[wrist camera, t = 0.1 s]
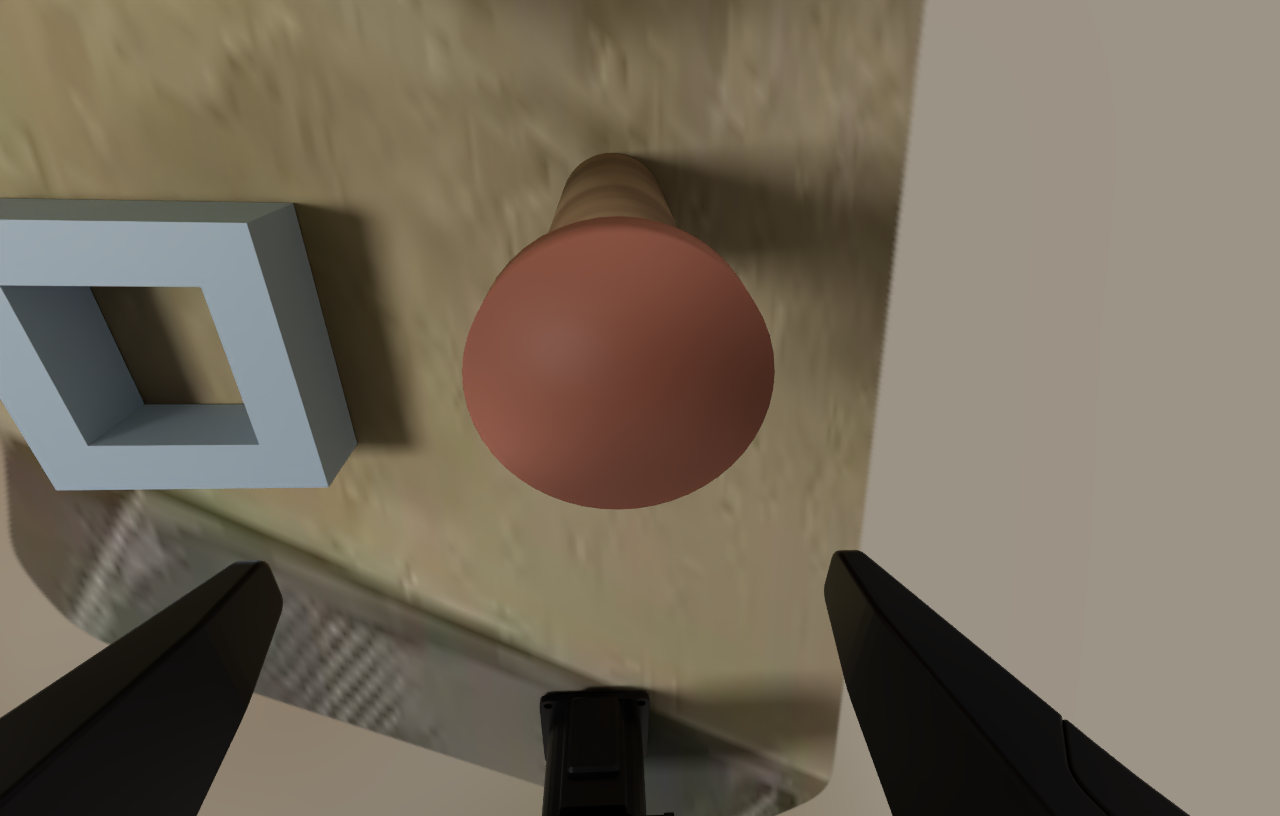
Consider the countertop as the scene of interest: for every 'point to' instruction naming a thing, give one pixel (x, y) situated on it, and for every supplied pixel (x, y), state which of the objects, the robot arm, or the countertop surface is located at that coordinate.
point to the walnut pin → (617, 351)
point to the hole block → (99, 379)
